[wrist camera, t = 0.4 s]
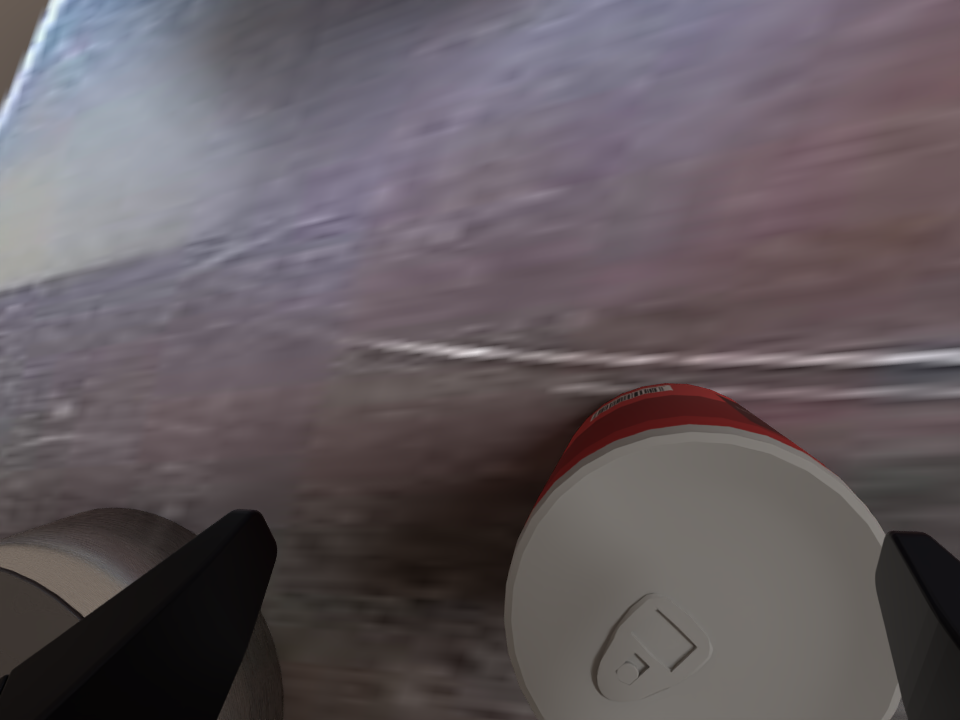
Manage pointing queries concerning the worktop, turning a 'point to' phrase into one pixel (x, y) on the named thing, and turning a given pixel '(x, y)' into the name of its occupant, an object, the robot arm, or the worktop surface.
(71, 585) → the pot
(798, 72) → the worktop surface
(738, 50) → the worktop surface
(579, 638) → the canned food
